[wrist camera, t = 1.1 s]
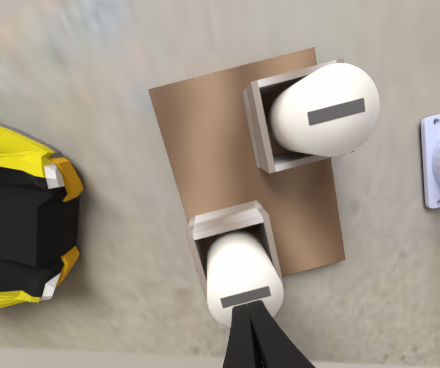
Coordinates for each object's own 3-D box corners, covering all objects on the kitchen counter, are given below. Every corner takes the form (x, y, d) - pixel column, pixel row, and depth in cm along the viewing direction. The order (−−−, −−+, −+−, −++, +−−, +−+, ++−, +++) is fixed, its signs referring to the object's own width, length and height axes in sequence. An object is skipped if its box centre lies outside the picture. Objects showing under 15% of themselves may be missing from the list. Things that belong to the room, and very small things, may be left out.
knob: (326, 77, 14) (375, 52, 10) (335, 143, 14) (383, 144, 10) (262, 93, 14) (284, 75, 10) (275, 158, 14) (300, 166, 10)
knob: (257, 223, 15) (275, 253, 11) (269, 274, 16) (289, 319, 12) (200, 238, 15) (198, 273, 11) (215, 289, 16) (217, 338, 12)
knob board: (305, 54, 17) (344, 21, 12) (335, 251, 21) (375, 286, 16) (153, 93, 17) (131, 76, 12) (209, 284, 21) (210, 329, 16)
